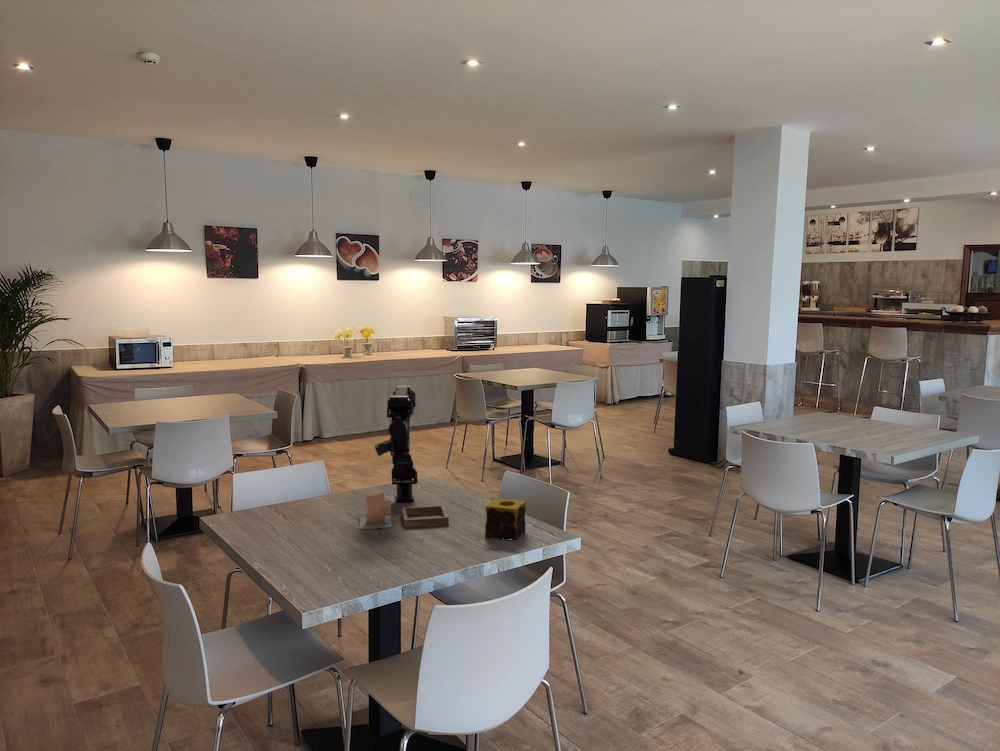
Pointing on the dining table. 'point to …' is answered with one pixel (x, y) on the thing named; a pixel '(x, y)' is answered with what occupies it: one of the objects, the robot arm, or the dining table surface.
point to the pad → (368, 526)
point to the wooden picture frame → (425, 521)
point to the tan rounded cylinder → (376, 508)
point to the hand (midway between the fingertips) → (400, 477)
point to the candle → (505, 519)
